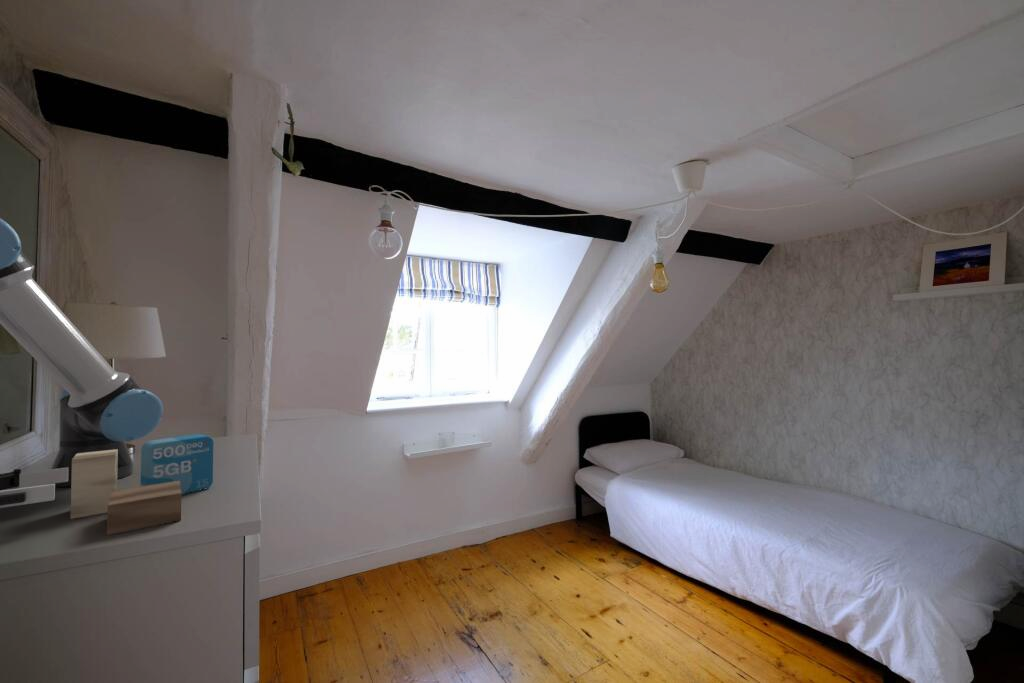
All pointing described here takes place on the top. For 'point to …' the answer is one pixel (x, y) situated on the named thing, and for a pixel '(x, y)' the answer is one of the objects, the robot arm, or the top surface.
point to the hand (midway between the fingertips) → (62, 482)
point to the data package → (178, 462)
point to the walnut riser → (144, 507)
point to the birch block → (93, 482)
